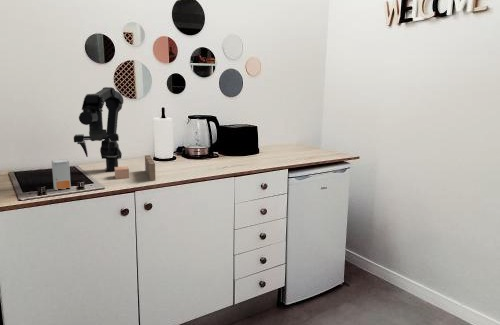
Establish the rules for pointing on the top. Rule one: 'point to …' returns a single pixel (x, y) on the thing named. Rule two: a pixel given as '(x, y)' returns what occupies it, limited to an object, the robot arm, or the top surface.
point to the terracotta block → (121, 172)
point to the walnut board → (150, 167)
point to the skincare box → (61, 174)
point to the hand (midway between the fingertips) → (98, 156)
